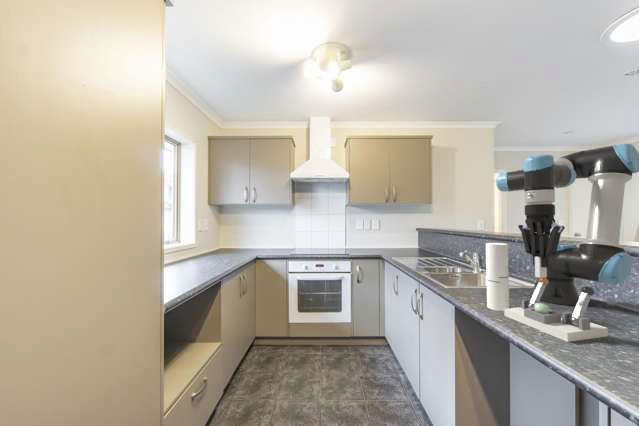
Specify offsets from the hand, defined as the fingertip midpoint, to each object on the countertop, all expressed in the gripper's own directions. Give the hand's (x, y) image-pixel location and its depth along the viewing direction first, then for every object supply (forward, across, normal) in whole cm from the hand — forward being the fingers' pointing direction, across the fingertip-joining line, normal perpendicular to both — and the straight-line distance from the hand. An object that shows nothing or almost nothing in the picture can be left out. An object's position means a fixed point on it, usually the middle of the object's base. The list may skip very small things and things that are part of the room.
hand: (540, 276), depth 84 cm
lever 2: (+13, +6, +4) cm, 15 cm away
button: (+12, 0, 0) cm, 12 cm away
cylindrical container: (+16, -18, +2) cm, 24 cm away
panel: (+16, -1, +4) cm, 17 cm away
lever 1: (+13, -7, +4) cm, 15 cm away
